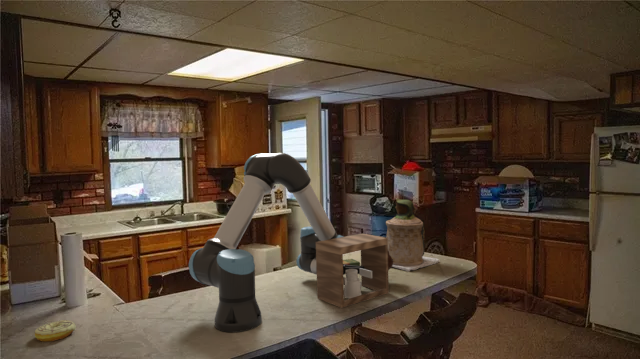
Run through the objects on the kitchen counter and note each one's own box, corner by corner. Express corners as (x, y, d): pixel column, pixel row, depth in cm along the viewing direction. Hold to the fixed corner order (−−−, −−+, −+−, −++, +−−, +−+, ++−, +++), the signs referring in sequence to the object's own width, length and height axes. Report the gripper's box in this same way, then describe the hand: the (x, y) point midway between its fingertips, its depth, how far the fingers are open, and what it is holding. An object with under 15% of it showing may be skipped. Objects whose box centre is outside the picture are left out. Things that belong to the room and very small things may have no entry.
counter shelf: (341, 307, 153) (339, 247, 152) (317, 298, 164) (315, 241, 163) (388, 293, 167) (387, 237, 166) (363, 285, 178) (362, 233, 177)
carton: (322, 270, 204) (321, 261, 204) (352, 266, 210) (352, 257, 210) (329, 274, 196) (329, 265, 196) (360, 270, 203) (360, 261, 202)
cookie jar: (411, 272, 195) (409, 202, 193) (369, 263, 213) (367, 199, 211) (441, 262, 212) (440, 197, 210) (400, 254, 230) (399, 194, 228)
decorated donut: (83, 331, 139) (82, 320, 139) (51, 345, 129) (50, 333, 129) (60, 327, 143) (59, 316, 143) (27, 340, 133) (26, 328, 133)
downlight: (356, 291, 170) (354, 266, 170) (367, 296, 165) (365, 270, 164) (339, 296, 166) (337, 270, 166) (349, 301, 160) (348, 274, 160)
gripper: (346, 270, 187) (382, 281, 170) (299, 282, 172) (334, 295, 155) (345, 253, 187) (381, 262, 170) (299, 263, 172) (333, 274, 155)
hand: (359, 278), depth 162 cm, fingers open, 12 cm apart
